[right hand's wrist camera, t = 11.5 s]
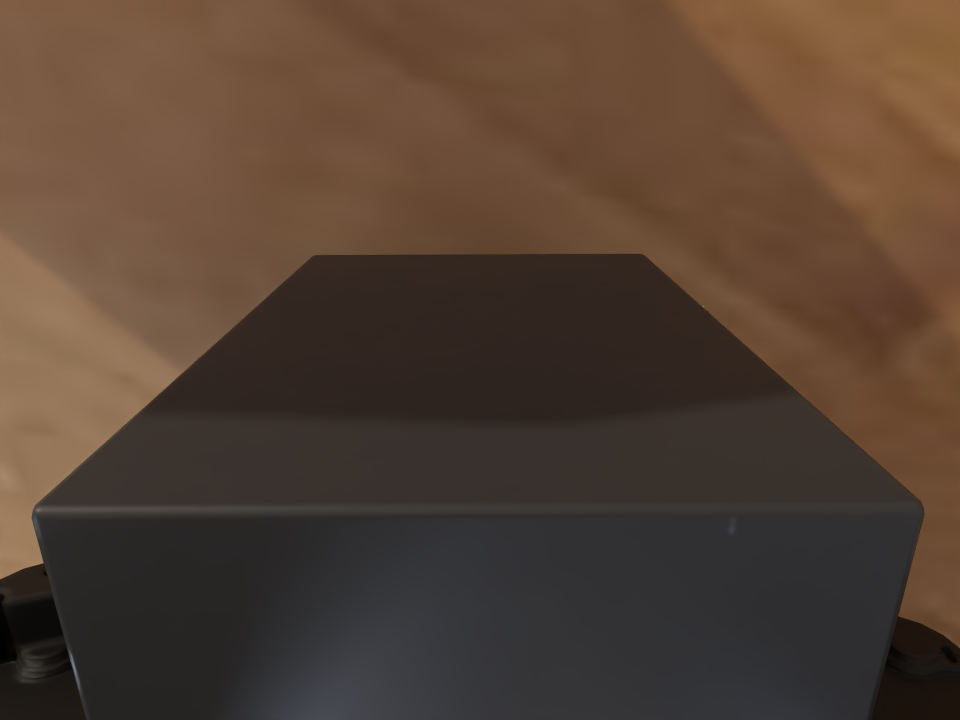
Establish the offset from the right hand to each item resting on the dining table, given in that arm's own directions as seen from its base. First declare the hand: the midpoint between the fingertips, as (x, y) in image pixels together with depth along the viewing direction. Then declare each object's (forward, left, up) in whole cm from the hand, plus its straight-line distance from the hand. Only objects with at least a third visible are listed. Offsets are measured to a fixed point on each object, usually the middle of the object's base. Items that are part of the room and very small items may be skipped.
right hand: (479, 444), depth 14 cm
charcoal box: (-8, -9, 0) cm, 12 cm away
